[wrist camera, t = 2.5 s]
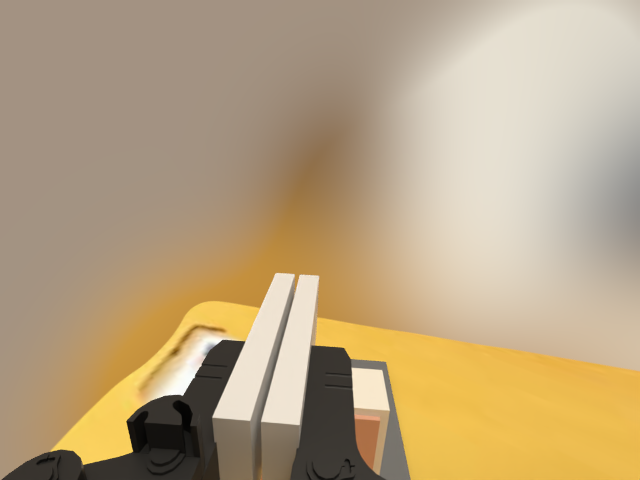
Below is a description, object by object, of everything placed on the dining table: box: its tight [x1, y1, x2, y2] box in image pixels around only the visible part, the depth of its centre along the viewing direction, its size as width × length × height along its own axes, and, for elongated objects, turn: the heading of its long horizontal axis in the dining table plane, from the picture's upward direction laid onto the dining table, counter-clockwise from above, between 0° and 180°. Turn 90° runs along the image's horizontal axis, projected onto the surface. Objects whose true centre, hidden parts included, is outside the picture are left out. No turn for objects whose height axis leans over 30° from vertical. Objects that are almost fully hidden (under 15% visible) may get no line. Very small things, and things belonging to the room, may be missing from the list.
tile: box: [261, 368, 390, 480], centre depth 21 cm, size 10×3×16 cm, turn 87°
